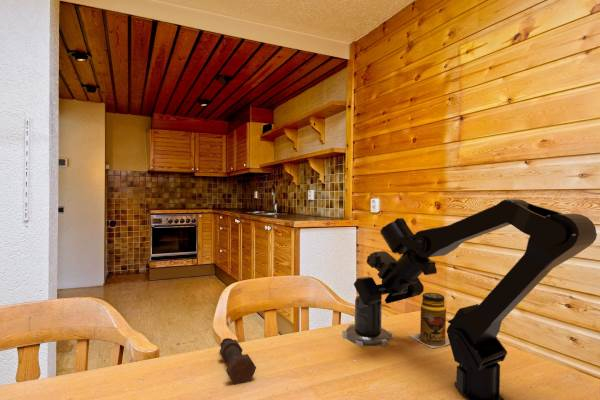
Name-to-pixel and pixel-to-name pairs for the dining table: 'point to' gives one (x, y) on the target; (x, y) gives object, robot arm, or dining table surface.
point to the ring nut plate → (369, 341)
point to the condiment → (432, 321)
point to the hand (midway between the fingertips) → (372, 304)
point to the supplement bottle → (368, 319)
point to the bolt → (237, 361)
